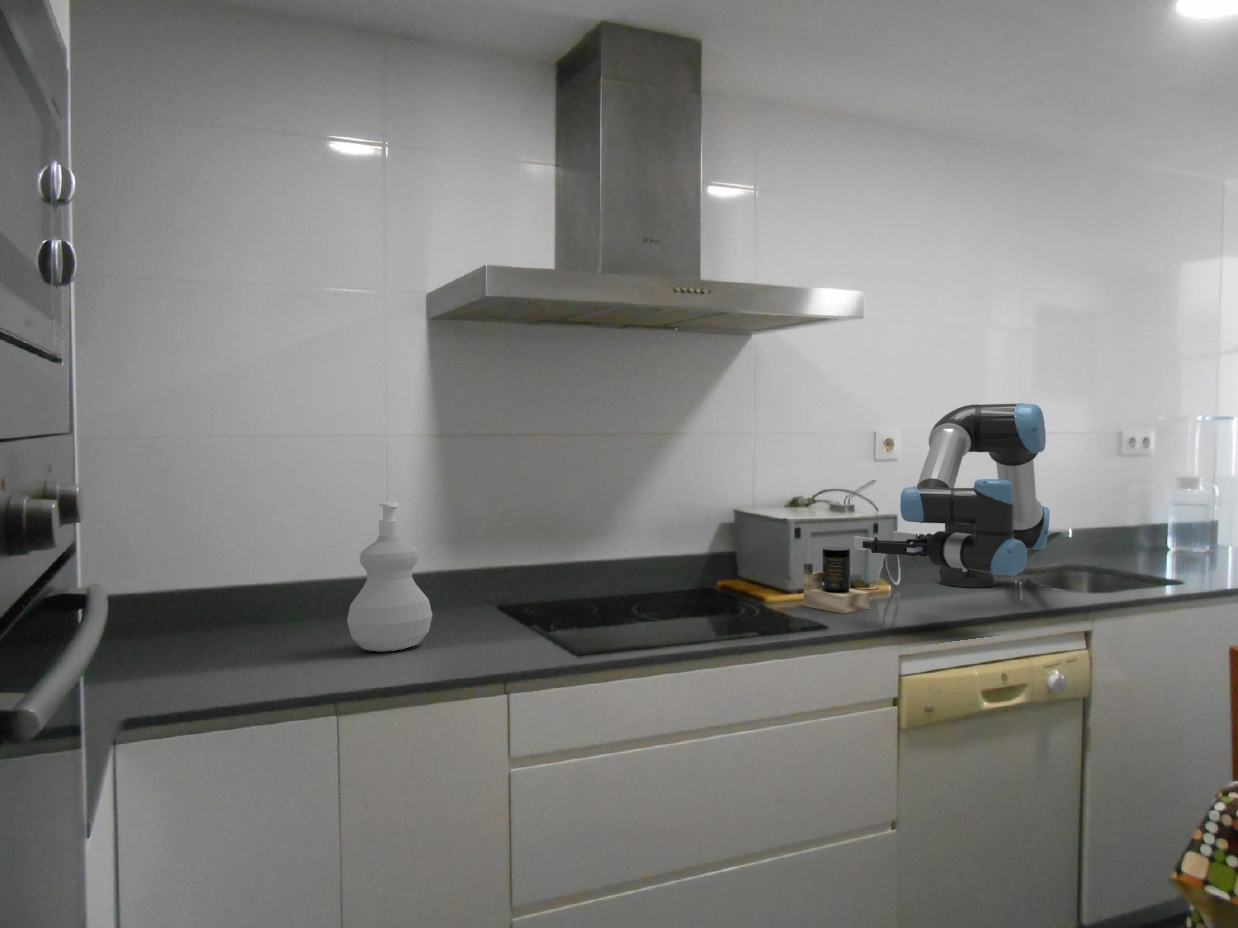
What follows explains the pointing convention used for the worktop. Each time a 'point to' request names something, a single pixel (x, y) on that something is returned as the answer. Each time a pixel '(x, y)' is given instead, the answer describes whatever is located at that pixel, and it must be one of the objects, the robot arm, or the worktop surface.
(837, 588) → the supplement container
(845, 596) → the holder
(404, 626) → the soap bottle
